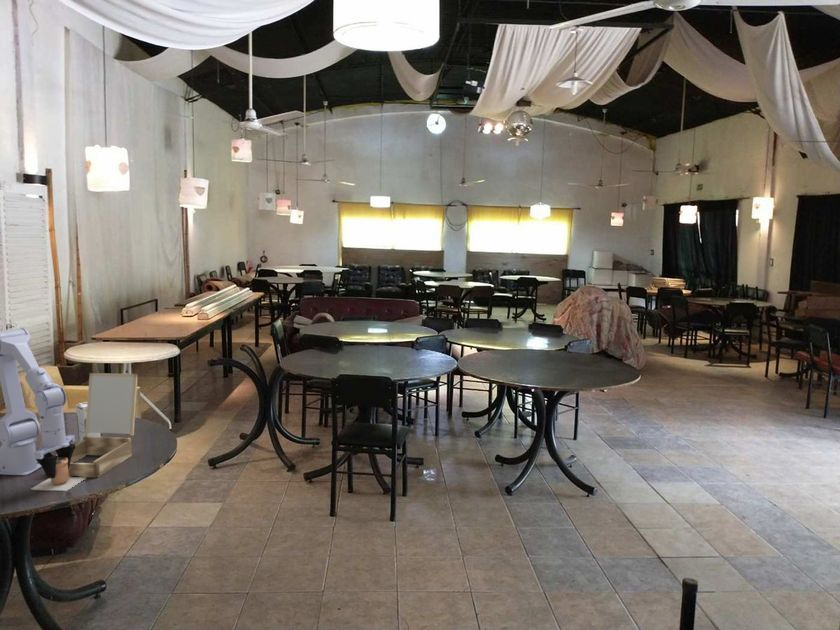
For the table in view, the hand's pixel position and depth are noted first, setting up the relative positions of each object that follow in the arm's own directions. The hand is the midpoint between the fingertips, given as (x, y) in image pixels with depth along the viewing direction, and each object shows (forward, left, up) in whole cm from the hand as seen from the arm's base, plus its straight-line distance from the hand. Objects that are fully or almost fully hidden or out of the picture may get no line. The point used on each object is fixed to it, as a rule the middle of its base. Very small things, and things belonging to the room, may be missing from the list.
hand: (58, 473), depth 185 cm
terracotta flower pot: (0, +1, -2) cm, 2 cm away
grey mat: (0, 0, -3) cm, 3 cm away
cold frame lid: (+1, +27, +13) cm, 30 cm away
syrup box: (-12, +33, -3) cm, 35 cm away
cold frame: (0, +15, -3) cm, 15 cm away
